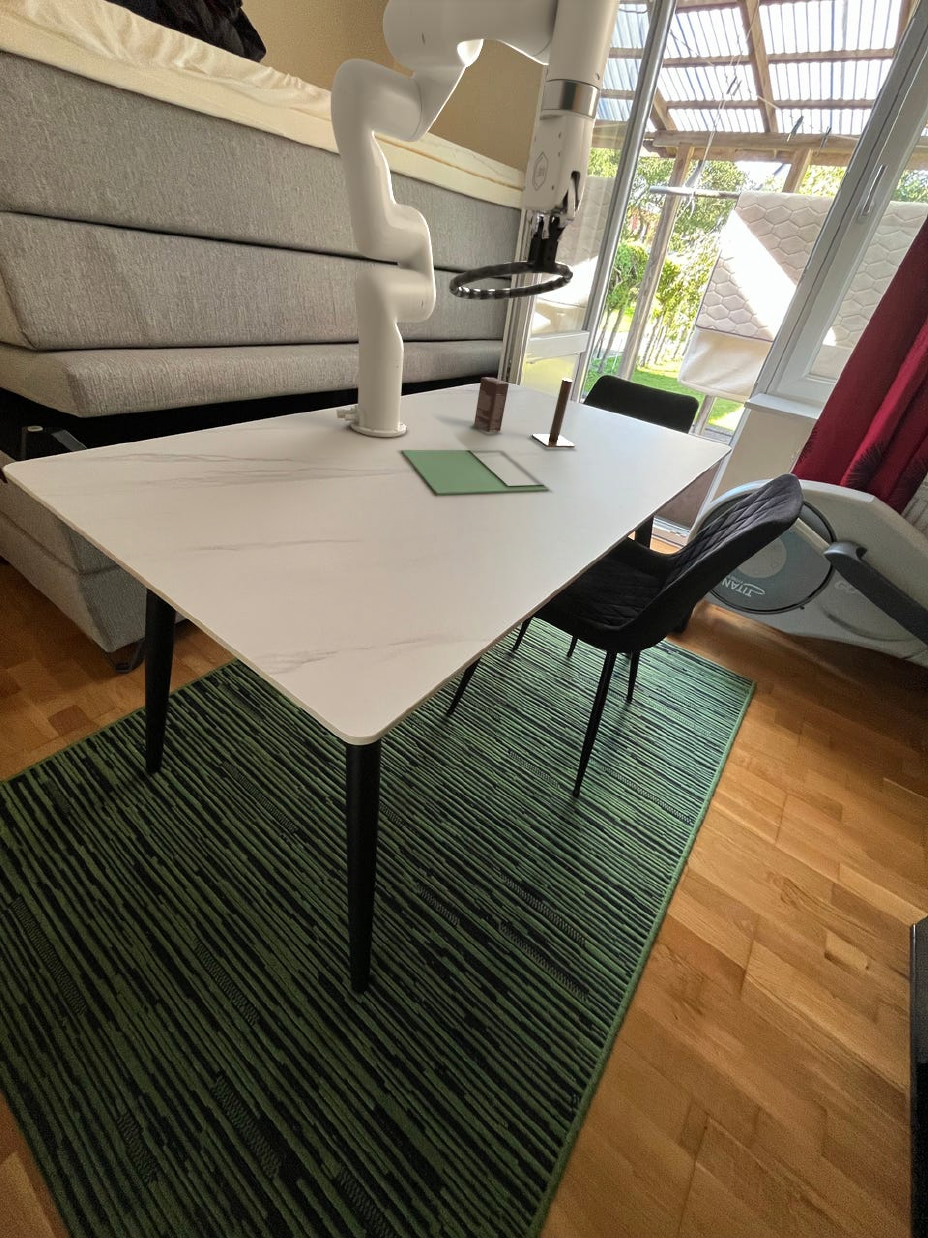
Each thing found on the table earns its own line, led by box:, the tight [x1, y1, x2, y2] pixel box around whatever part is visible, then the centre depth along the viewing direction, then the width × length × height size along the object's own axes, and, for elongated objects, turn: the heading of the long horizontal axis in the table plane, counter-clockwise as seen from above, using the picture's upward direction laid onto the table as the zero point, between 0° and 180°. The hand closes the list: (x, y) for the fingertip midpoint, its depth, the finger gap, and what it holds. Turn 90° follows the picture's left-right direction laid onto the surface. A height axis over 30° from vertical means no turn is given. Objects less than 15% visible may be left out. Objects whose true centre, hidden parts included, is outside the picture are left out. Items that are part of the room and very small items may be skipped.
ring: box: [448, 260, 575, 301], centre depth 88 cm, size 21×21×2 cm
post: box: [531, 378, 576, 448], centre depth 125 cm, size 8×8×15 cm
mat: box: [401, 449, 549, 496], centre depth 107 cm, size 24×22×1 cm
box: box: [473, 377, 510, 433], centre depth 128 cm, size 6×4×12 cm
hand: (539, 269), depth 80 cm, fingers closed on ring, 1 cm apart
